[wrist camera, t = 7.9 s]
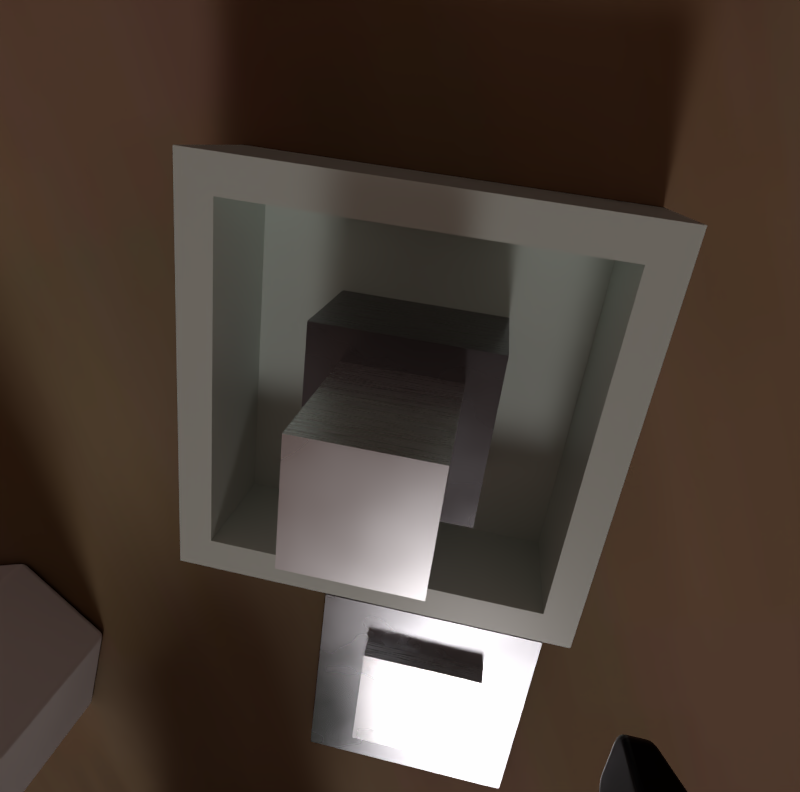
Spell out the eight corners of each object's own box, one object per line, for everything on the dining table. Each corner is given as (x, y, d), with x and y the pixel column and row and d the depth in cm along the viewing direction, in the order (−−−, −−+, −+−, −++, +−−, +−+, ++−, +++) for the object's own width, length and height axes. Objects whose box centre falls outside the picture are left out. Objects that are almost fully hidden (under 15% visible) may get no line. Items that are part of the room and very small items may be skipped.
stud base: (541, 627, 22) (543, 657, 21) (498, 770, 26) (498, 805, 24) (331, 580, 23) (320, 607, 22) (316, 725, 26) (305, 756, 25)
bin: (663, 207, 16) (706, 225, 13) (560, 561, 21) (570, 648, 18) (242, 144, 18) (172, 144, 14) (234, 492, 22) (180, 560, 19)
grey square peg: (509, 317, 18) (508, 431, 11) (479, 466, 20) (461, 643, 13) (342, 289, 18) (237, 381, 11) (330, 437, 20) (233, 592, 13)
